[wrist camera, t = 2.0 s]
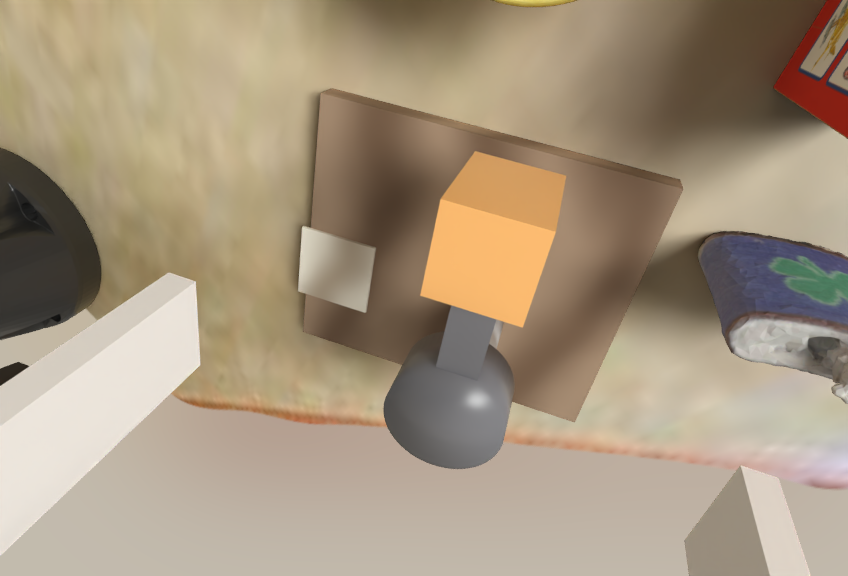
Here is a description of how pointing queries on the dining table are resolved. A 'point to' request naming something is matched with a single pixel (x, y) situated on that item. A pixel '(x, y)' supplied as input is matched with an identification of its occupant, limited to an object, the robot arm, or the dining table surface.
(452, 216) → the grey joystick lever
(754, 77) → the dining table surface
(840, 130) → the toy box
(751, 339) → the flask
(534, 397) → the post base
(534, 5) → the plant pot
